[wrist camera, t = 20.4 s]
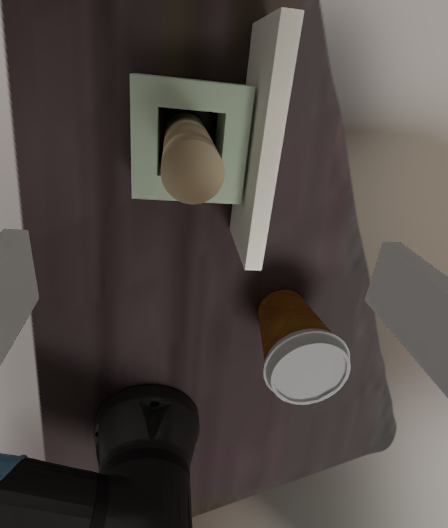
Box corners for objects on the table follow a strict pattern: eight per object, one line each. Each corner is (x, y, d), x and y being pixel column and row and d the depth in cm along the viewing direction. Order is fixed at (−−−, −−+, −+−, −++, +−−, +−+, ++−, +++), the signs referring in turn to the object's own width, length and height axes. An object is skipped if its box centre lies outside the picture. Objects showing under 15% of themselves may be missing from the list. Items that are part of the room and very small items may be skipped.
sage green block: (137, 180, 38) (131, 198, 33) (136, 72, 34) (129, 73, 28) (231, 186, 40) (241, 204, 35) (243, 84, 35) (255, 86, 30)
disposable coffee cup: (247, 342, 51) (267, 414, 40) (243, 284, 46) (264, 347, 36) (314, 332, 51) (351, 400, 41) (316, 273, 47) (359, 332, 36)
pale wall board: (229, 228, 42) (244, 270, 34) (252, 23, 33) (281, 7, 24) (243, 229, 43) (261, 270, 34) (269, 25, 34) (304, 10, 25)
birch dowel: (180, 161, 38) (184, 215, 24) (157, 126, 36) (147, 164, 22) (212, 139, 38) (236, 182, 24) (190, 103, 36) (202, 126, 22)
